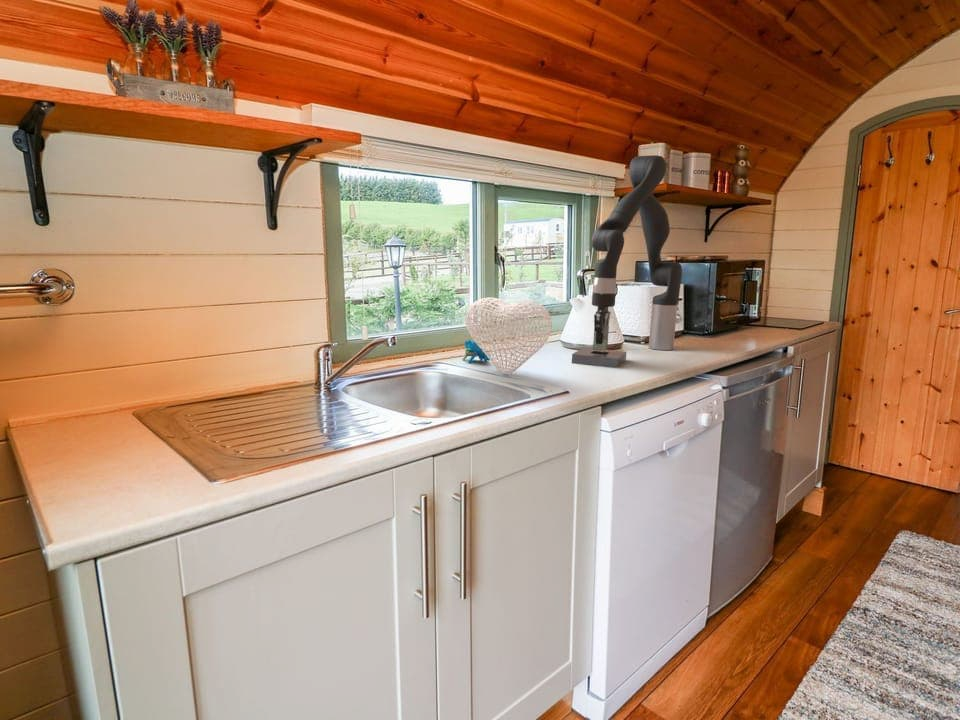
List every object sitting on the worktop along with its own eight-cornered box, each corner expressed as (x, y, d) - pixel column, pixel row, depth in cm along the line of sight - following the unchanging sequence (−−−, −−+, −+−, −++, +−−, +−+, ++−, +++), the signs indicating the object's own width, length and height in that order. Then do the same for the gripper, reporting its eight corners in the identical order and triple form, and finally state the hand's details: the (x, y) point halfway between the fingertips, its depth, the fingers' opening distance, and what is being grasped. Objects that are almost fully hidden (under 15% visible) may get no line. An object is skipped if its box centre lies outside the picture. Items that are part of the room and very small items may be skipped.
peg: (595, 347, 198) (597, 324, 197) (607, 349, 197) (609, 325, 195) (592, 349, 195) (594, 325, 193) (604, 350, 193) (606, 326, 191)
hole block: (583, 355, 206) (583, 347, 206) (625, 360, 200) (626, 351, 200) (571, 362, 193) (572, 354, 192) (617, 367, 187) (617, 358, 186)
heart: (559, 378, 169) (563, 302, 165) (526, 386, 158) (529, 304, 154) (488, 363, 188) (490, 294, 184) (454, 369, 177) (455, 296, 173)
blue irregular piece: (497, 358, 188) (478, 338, 183) (487, 372, 186) (467, 352, 181) (478, 357, 197) (459, 338, 192) (468, 371, 195) (449, 351, 190)
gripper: (597, 289, 200) (594, 339, 203) (587, 292, 187) (584, 344, 190) (619, 291, 197) (616, 341, 200) (611, 293, 184) (607, 346, 187)
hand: (600, 342), depth 195 cm, fingers closed on peg, 4 cm apart
